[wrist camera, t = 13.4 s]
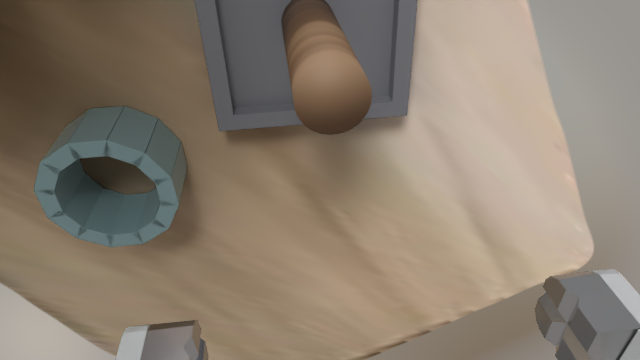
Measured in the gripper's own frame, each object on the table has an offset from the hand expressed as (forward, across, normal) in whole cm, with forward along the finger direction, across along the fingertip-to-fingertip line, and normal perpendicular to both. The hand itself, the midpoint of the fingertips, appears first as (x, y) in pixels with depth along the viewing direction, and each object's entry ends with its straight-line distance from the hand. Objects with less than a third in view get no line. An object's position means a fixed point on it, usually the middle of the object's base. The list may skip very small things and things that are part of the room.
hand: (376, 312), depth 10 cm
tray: (+25, -1, 0) cm, 25 cm away
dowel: (+24, -1, 0) cm, 24 cm away
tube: (+25, +14, +10) cm, 31 cm away
